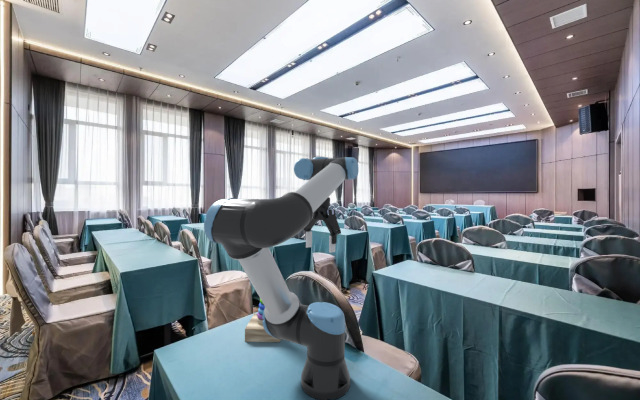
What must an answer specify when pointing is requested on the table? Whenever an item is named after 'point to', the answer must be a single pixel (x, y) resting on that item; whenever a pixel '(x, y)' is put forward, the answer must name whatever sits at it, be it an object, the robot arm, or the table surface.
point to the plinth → (257, 332)
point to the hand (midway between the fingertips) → (320, 249)
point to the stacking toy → (260, 312)
